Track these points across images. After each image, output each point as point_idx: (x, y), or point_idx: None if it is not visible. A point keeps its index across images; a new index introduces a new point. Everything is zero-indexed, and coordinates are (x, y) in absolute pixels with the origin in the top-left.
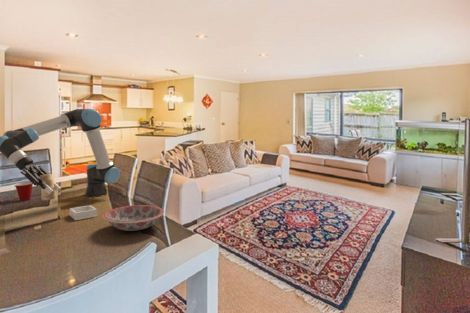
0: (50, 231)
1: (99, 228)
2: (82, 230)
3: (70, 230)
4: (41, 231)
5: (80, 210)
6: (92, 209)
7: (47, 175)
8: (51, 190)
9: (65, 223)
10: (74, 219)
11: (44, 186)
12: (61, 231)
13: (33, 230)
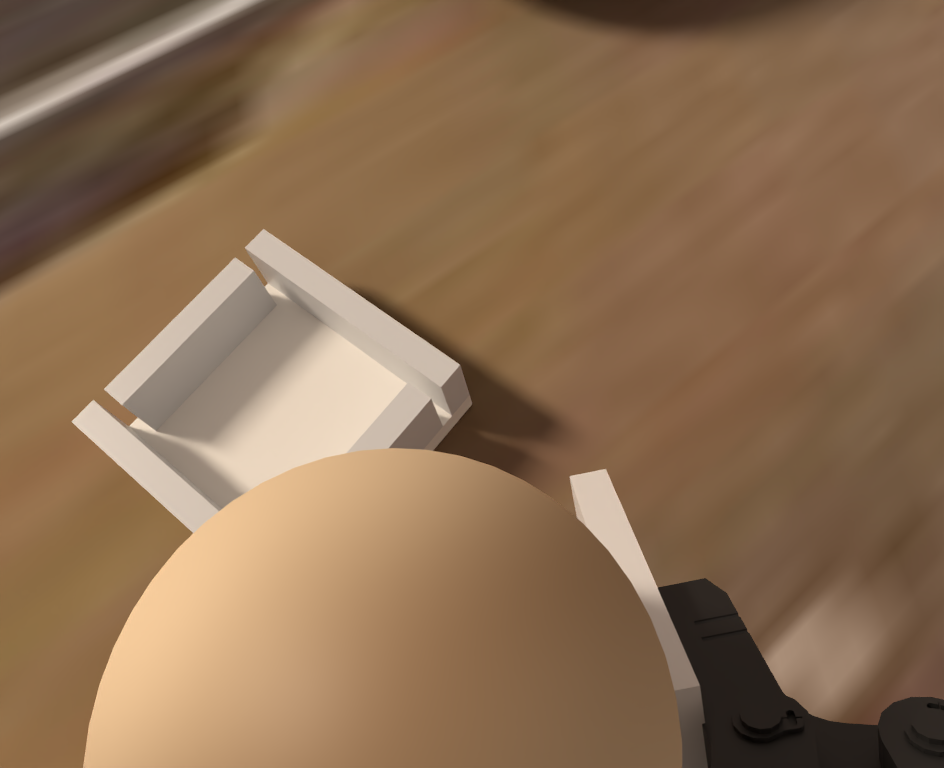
0: (876, 399)
1: (636, 49)
2: (731, 139)
3: (771, 234)
4: (918, 495)
5: (208, 498)
6: (219, 323)
7: (466, 610)
8: (610, 486)
9: (596, 435)
10: (448, 431)
11: (717, 602)
12: (829, 293)
13: (934, 620)
